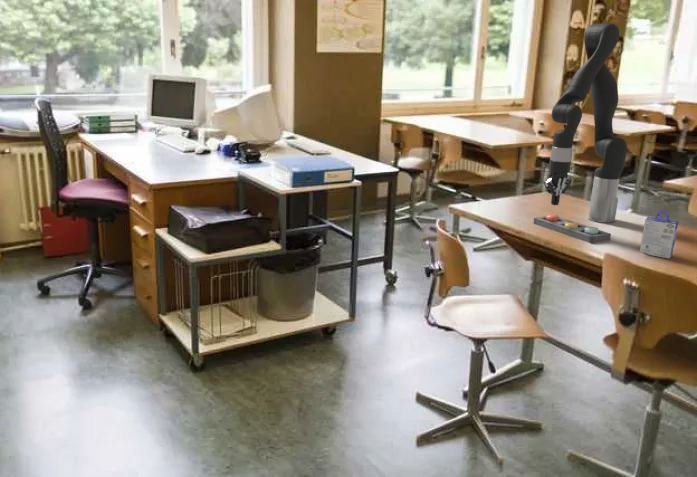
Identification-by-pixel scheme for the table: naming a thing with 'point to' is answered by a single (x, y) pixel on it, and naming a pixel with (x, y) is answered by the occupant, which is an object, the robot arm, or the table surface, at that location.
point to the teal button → (591, 230)
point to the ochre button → (571, 225)
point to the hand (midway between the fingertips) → (554, 204)
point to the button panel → (572, 230)
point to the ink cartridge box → (659, 236)
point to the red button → (552, 218)
